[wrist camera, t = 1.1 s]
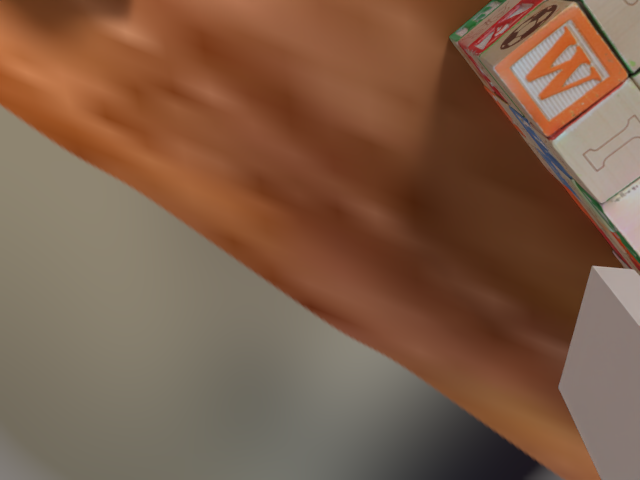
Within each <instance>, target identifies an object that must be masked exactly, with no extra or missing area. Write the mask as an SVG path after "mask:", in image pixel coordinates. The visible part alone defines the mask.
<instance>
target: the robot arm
mask: <svg viewBox="0 0 640 480" xmlns="http://www.w3.org/2000/svg"><path fill="white" fill-rule="evenodd" d="M558 388H559V390H560V392H561V395H562V397H563V399H564V401H565V403H566V405H567V407H568V410H569V412H570V414H571V416H572V418H573V420H574V422H575V424H576V427H577V429H578V431H579V433H580V435H581V437H582V439H583V442H584V444H585V446H586V448H587V450H588V452H589V454H590V457H591V459H592V461H593V463H594V465H595V467H596V469H597V471H598V474H599V476H600V478H601V480H640V275H639V274H638V273H637V272H636V271H635V270H634V269H623V268H612V267H601V266H592V267H591V271H590V275H589V278H588V282H587V286H586V289H585V293H584V296H583V300H582V304H581V307H580V311H579V315H578V318H577V322H576V325H575V329H574V333H573V336H572V340H571V344H570V347H569V351H568V354H567V358H566V362H565V365H564V369H563V373H562V376H561V380H560V383H559V387H558Z"/></svg>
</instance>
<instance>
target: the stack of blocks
mask: <svg viewBox="0 0 640 480" xmlns="http://www.w3.org/2000/svg"><path fill="white" fill-rule="evenodd" d="M449 38H450V40H451V42H452V43H453V44H454V45H455V47H456V48H457V49H458V51H459V52H460V53H461V55H462V56H463V57H464V59H465V60H466V61H467V62H468V64H469V65H470V66H471V68H472V69H473V70H474V72H475V73H476V74H477V76H478V77H479V78H480V80H481V81H482V82H483V86H484V88H485V89H486V90H487V92H488V93H489V94H490V95H491V97H492V98H493V99H494V101H495V102H496V103H497V105H498V106H499V107H500V108H501V110H502V111H503V112H504V114H505V115H506V116H507V117H508V119H509V120H510V121H511V123H512V124H513V125H514V127H515V128H516V129H517V130H518V132H519V133H520V135H521V136H522V137H523V139H524V140H525V141H526V143H527V144H528V145H529V147H530V148H531V149H532V151H533V152H534V153H535V154H536V156H537V157H538V158H539V160H540V161H541V162H542V164H543V165H544V166H545V167H546V169H547V170H548V171H549V172H550V173H551V174H552V175H553V176H554V177H555V178H556V179H557V180H559V182H560V183H561V184H562V185H563V187H564V188H565V189H566V191H567V192H568V193H569V194H570V196H571V197H572V198H573V200H574V201H575V202H576V204H577V205H578V206H579V208H580V209H581V210H582V211H583V212H584V213H585V214H586V215H587V216H588V217H589V219H590V220H591V221H592V222H593V224H594V225H595V226H596V228H597V229H598V230H599V231H600V233H601V234H602V235H603V237H604V238H605V239H606V240H607V242H608V243H609V244H610V246H611V247H612V248H613V254H614V255H615V256H616V258H617V259H618V260H619V261H620V263H621V264H622V265H623V267H624V268H625V269H634V270H635V271H636V272H637V273H638V274H639V275H640V0H492V1H491V2H489V3H488V4H487V5H486V6H485V7H484V8H482V9H481V10H480V11H479V12H478V13H476V14H475V15H474V16H473V17H472V18H471V19H469V20H468V21H467V22H466V23H465V24H463V25H462V26H461V27H460V28H459V29H458V30H456V31H455V32H454V33H453V34H451V35H450V37H449Z"/></svg>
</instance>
